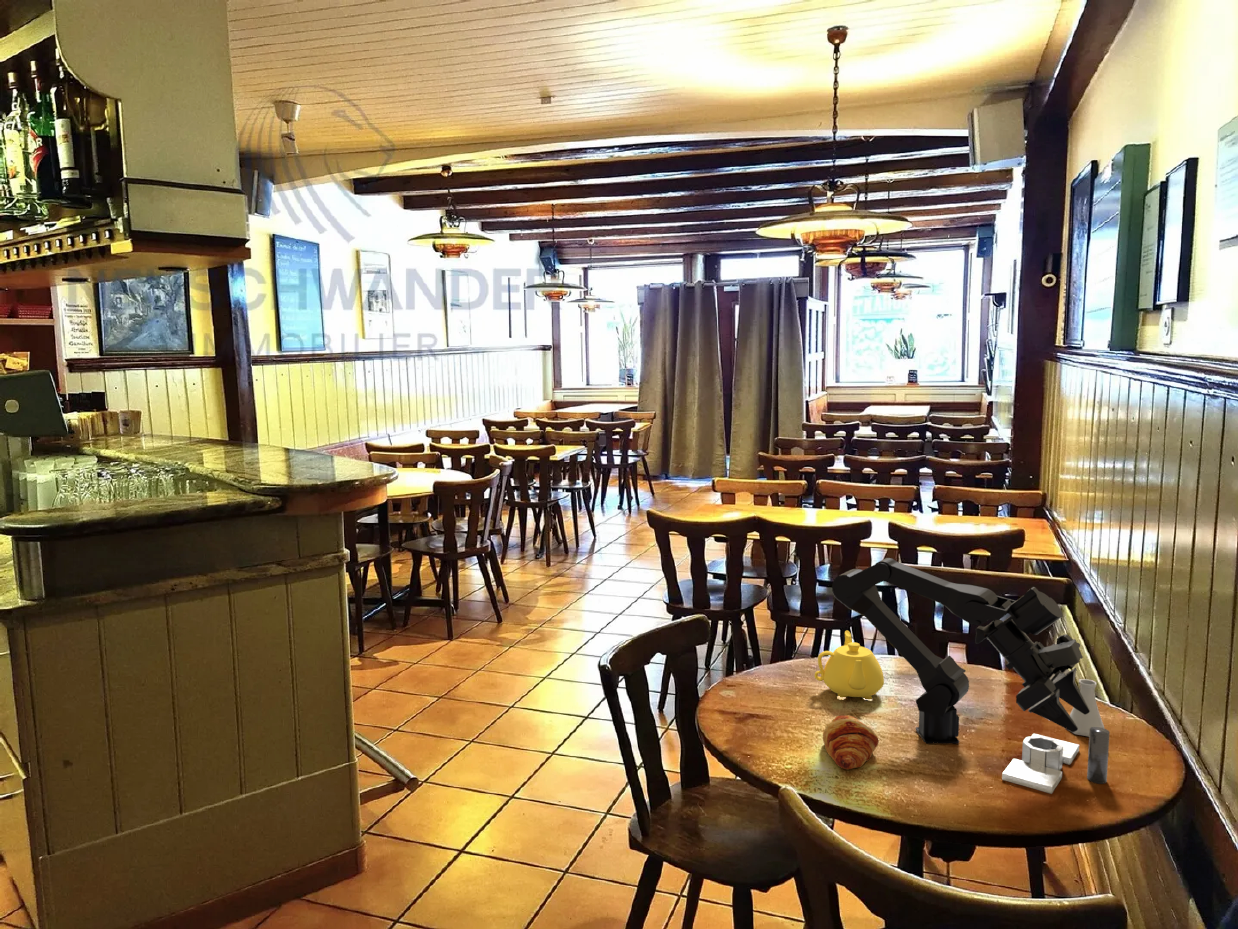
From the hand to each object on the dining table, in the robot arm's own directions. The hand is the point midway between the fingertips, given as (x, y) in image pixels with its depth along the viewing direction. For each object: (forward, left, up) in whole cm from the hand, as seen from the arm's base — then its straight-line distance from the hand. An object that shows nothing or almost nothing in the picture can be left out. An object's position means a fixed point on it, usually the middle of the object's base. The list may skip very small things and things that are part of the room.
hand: (1081, 721), depth 151 cm
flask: (+10, +18, -10) cm, 23 cm away
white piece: (-5, +4, -10) cm, 12 cm away
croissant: (-38, +9, -10) cm, 41 cm away
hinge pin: (+2, -2, -10) cm, 10 cm away
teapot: (-32, +37, -10) cm, 50 cm away
